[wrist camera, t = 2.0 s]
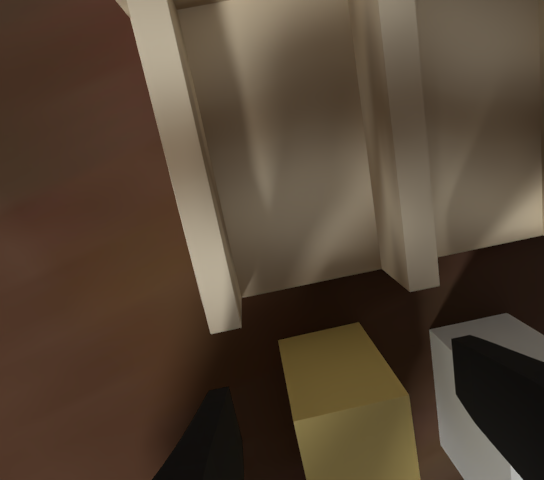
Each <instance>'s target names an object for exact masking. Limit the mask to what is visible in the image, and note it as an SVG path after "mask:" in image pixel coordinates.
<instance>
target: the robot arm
mask: <svg viewBox="0 0 544 480" xmlns="http://www.w3.org/2000/svg"><path fill="white" fill-rule="evenodd" d="M451 343H452V355H453V368H454V380H455V392H456V395H457V397H458V399H459V400H460V402H461V403H462V405H463V406H464V408H465V409H466V411H467V412H468V414H469V415H470V417H471V418H472V420H473V421H474V423H475V424H476V425H477V426H478V427H479V429H480V430H481V431H482V432H483V433H484V435H485V436H486V437H487V438H488V439H489V441H490V442H491V443H492V444H493V445H494V446H495V448H496V449H497V450H498V451H499V452H500V453H501V455H502V456H503V457H504V458H505V459H506V460H507V462H508V463H509V464H510V465H511V466H512V467H513V468H514V470H515V471H516V472H517V473H518V474H519V475H520V477H521V478H522V479H523V480H544V362H543V361H540V360H537V359H534V358H532V357H529V356H526V355H524V354H521V353H518V352H516V351H513V350H511V349H508V348H505V347H503V346H500V345H498V344H495V343H492V342H490V341H487V340H484V339H481V338H478V337H475V336H472V335H467V336H462V337H457V338H453V339H451ZM152 480H244V463H243V446H242V438H241V434H240V430H239V426H238V422H237V418H236V414H235V410H234V406H233V402H232V398H231V394H230V390H229V386H228V387H223V388H219V389H214V390H210V391H209V392H208V393H207V395H206V397H205V399H204V400H203V402H202V404H201V406H200V407H199V409H198V411H197V413H196V414H195V416H194V418H193V420H192V421H191V423H190V425H189V426H188V428H187V430H186V431H185V433H184V434H183V436H182V438H181V439H180V441H179V442H178V444H177V445H176V447H175V448H174V450H173V451H172V453H171V454H170V456H169V457H168V458H167V460H166V461H165V463H164V464H163V466H162V467H161V468H160V470H159V471H158V472H157V474H156V475H155V476H154V478H153V479H152Z"/></svg>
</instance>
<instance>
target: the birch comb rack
mask: <svg viewBox="0 0 544 480" xmlns="http://www.w3.org/2000/svg"><path fill="white" fill-rule="evenodd" d="M116 2H117V3H118V4H119V5H120V6H121V8H122V9H123V10H124V11H125V12H126V14H127V15H128V16H129V17H130V19H131V23H132V27H133V31H134V35H135V39H136V43H137V47H138V51H139V55H140V59H141V62H142V66H143V70H144V74H145V78H146V82H147V86H148V90H149V94H150V98H151V102H152V106H153V110H154V114H155V118H156V122H157V126H158V130H159V134H160V138H161V142H162V146H163V150H164V154H165V158H166V162H167V166H168V170H169V174H170V178H171V182H172V186H173V190H174V193H175V197H176V201H177V205H178V209H179V213H180V217H181V221H182V225H183V229H184V233H185V237H186V241H187V245H188V249H189V253H190V257H191V261H192V265H193V269H194V273H195V277H196V281H197V285H198V289H199V293H200V297H201V301H202V305H203V306H204V310H205V314H206V318H207V322H208V326H209V330H210V334H214V333H219V332H224V331H228V330H233V329H238V328H242V298H245V297H249V296H254V295H259V294H264V293H269V292H273V291H278V290H283V289H288V288H293V287H297V286H302V285H307V284H312V283H316V282H321V281H326V280H331V279H336V278H340V277H345V276H350V275H355V274H360V273H364V272H369V271H374V270H379V269H382V270H384V271H385V272H386V273H387V274H388V275H390V276H391V277H392V278H393V279H395V280H396V281H397V282H398V283H399V284H401V285H402V286H403V287H404V288H405V289H407V290H408V291H409V292H413V291H418V290H423V289H427V288H432V287H437V286H440V281H439V270H438V259H437V257H441V256H446V255H451V254H456V253H460V252H465V251H470V250H475V249H480V248H484V247H489V246H494V245H499V244H504V243H508V242H513V241H518V240H523V239H528V238H532V237H537V236H542V235H543V236H544V0H116Z"/></svg>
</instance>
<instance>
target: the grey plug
mask: <svg viewBox="0 0 544 480" xmlns="http://www.w3.org/2000/svg"><path fill="white" fill-rule="evenodd" d="M429 333H430V343H431V354H432V364H433V374H434V384H435V394H436V404H437V414H438V425H439V435H440V445H441V446H442V447H443V449H444V450H445V452H446V453H447V455H448V456H449V458H450V459H451V461H452V462H453V464H454V465H455V467H456V468H457V470H458V471H459V472H460V474H461V475H462V477H463V478H464V480H523V479H522V478H521V477H520V475H519V474H518V473H517V472H516V471H515V470H514V468H513V467H512V466H511V465H510V464H509V463H508V462H507V460H506V459H505V458H504V457H503V456H502V455H501V453H500V452H499V451H498V450H497V449H496V448H495V446H494V445H493V444H492V443H491V442H490V441H489V439H488V438H487V437H486V436H485V435H484V433H483V432H482V431H481V430H480V429H479V427H478V426H477V425H476V424H475V423H474V421H473V420H472V418H471V417H470V415H469V414H468V412H467V411H466V409H465V408H464V406H463V405H462V403H461V402H460V400H459V399H458V397H457V395H456V392H455V380H454V368H453V355H452V343H451V339H453V338H457V337H462V336H467V335H472V336H475V337H478V338H481V339H484V340H487V341H490V342H492V343H495V344H498V345H500V346H503V347H505V348H508V349H511V350H513V351H516V352H518V353H521V354H524V355H526V356H529V357H532V358H534V359H537V360H540V361H543V362H544V335H543V334H541V333H539V332H538V331H536V330H535V329H533V328H531V327H530V326H528V325H526V324H525V323H523V322H521V321H520V320H518V319H516V318H515V317H513V316H511V315H510V314H508V313H504V314H499V315H495V316H490V317H485V318H481V319H476V320H471V321H467V322H462V323H457V324H453V325H448V326H443V327H439V328H434V329H430V330H429Z"/></svg>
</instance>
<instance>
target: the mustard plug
mask: <svg viewBox="0 0 544 480" xmlns="http://www.w3.org/2000/svg"><path fill="white" fill-rule="evenodd" d="M278 344H279V349H280V354H281V359H282V365H283V370H284V375H285V380H286V386H287V391H288V396H289V401H290V407H291V412H292V417H293V422H294V427H295V431H296V436H297V440H298V445H299V449H300V454H301V458H302V463H303V467H304V472H305V476H306V480H420V473H419V466H418V458H417V450H416V443H415V435H414V428H413V420H412V413H411V405H410V397H409V394H408V393H407V391H406V390H405V388H404V387H403V385H402V384H401V382H400V381H399V380H398V378H397V377H396V375H395V374H394V372H393V371H392V369H391V368H390V366H389V365H388V364H387V362H386V361H385V359H384V358H383V356H382V355H381V353H380V352H379V351H378V349H377V348H376V346H375V345H374V343H373V342H372V340H371V339H370V338H369V336H368V335H367V333H366V332H365V330H364V329H363V327H362V326H361V324H360V323H359V322H357V323H352V324H348V325H343V326H339V327H334V328H330V329H326V330H321V331H317V332H312V333H308V334H303V335H299V336H294V337H290V338H285V339H281V340H278Z"/></svg>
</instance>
